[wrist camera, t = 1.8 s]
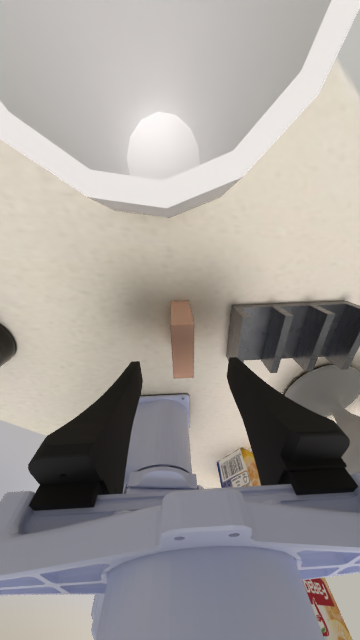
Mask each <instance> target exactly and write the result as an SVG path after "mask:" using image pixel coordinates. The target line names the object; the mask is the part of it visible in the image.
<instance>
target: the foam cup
mask: <svg viewBox="0 0 360 640" xmlns="http://www.w3.org/2000/svg"><path fill="white" fill-rule="evenodd" d="M359 8H360V0H0V139H1V140H2V141H4V142H5V143H7V144H8V145H10V146H11V147H13V148H14V149H16V150H17V151H19V152H20V153H22V154H23V155H25V156H26V157H28V158H29V159H31V160H32V161H34V162H35V163H37V164H38V165H40V166H41V167H43V168H44V169H46V170H47V171H49V172H50V173H52V174H53V175H55V176H56V177H58V178H59V179H61V180H62V181H64V182H65V183H67V184H68V185H70V186H71V187H73V188H74V189H76V190H77V191H79V192H80V193H82V194H83V195H85V196H86V197H88V198H90V199H92V200H94V201H96V202H98V203H101V204H103V205H105V206H107V207H109V208H111V209H113V210H115V211H122V212H129V213H137V214H144V215H151V216H159V217H166V218H170V217H173V216H175V215H177V214H180V213H182V212H185V211H187V210H190V209H192V208H195V207H197V206H200V205H202V204H205V203H207V202H210V201H212V200H215V199H217V198H219V197H221V196H222V195H223V194H224V193H225V192H227V191H228V190H229V189H230V188H231V187H232V186H233V185H234V184H235V183H237V182H238V181H239V180H240V179H241V178H242V177H243V176H244V175H245V174H246V173H247V172H248V171H249V170H250V168H251V167H252V166H253V165H254V164H255V163H256V162H257V161H258V160H259V159H260V158H261V156H262V155H263V154H264V153H265V152H266V151H267V150H268V149H269V148H270V147H271V146H272V144H273V143H274V142H275V141H276V140H277V139H278V138H279V137H280V136H281V135H282V134H283V132H284V131H285V130H286V129H287V128H288V127H289V126H290V125H291V124H292V123H293V122H294V120H295V119H296V118H297V117H298V116H299V115H300V114H301V113H302V112H303V111H304V109H305V108H306V107H307V106H308V105H309V104H310V103H311V102H312V101H313V100H314V99H315V97H316V96H317V95H318V94H319V93H320V90H321V88H322V86H323V84H324V82H325V80H326V78H327V76H328V74H329V71H330V69H331V67H332V65H333V63H334V61H335V59H336V57H337V55H338V52H339V50H340V48H341V46H342V44H343V42H344V40H345V38H346V36H347V34H348V31H349V29H350V27H351V25H352V23H353V21H354V19H355V17H356V15H357V13H358V10H359Z"/></svg>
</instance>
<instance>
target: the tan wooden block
mask: <svg viewBox="0 0 360 640" xmlns="http://www.w3.org/2000/svg"><path fill="white" fill-rule="evenodd" d="M170 326H171V342H172V359H173V376H174V378H194V321H193V317H192V313H191V308H190V304H189V301H172V302H171V324H170Z"/></svg>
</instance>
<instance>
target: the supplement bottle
mask: <svg viewBox="0 0 360 640" xmlns="http://www.w3.org/2000/svg"><path fill="white" fill-rule="evenodd" d="M14 353H15V342H14V339H13V338H12V336H11V335H10V333H9V332H8V331H7V330H6V329H5V328H4V327H2V326H1V325H0V366H2V365H3V364H4V363H6V362H7V361H8V360H10V359H11V358H12V356H13V355H14Z"/></svg>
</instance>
